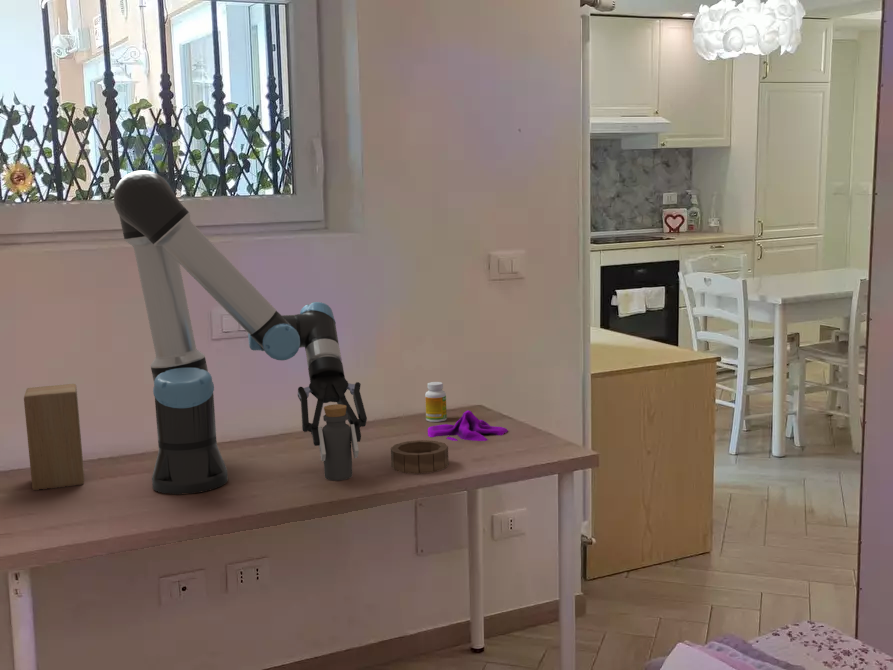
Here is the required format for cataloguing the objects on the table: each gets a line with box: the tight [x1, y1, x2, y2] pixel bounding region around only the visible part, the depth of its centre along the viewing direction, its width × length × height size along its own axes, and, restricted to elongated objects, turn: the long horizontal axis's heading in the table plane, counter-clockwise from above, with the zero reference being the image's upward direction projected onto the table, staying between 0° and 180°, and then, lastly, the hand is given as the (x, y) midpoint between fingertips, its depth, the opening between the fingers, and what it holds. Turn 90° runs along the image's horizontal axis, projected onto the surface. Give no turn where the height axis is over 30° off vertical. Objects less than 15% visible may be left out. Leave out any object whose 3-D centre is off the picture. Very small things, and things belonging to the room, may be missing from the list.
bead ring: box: [390, 439, 449, 475], centre depth 208 cm, size 12×12×4 cm
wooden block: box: [23, 383, 85, 491], centre depth 203 cm, size 10×10×20 cm
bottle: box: [322, 403, 353, 481], centre depth 201 cm, size 6×6×15 cm
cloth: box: [427, 409, 509, 442], centre depth 235 cm, size 22×19×6 cm
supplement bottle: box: [424, 381, 448, 423], centre depth 250 cm, size 5×5×10 cm
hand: (340, 455), depth 198 cm, fingers open, 6 cm apart
